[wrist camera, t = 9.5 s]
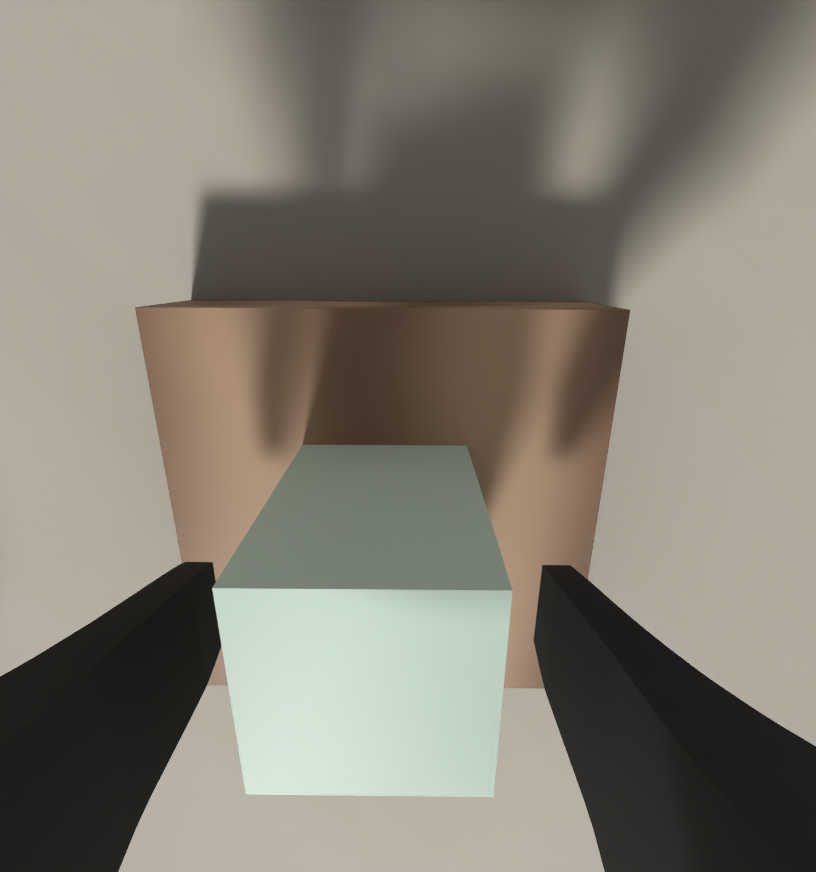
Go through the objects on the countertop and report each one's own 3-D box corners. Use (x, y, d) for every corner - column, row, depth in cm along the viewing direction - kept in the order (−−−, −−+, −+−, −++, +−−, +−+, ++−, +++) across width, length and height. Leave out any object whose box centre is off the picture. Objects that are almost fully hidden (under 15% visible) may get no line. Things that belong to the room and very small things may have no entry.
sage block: (466, 445, 12) (512, 590, 7) (460, 583, 14) (493, 797, 8) (302, 444, 12) (211, 588, 7) (313, 582, 14) (246, 794, 8)
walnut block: (586, 302, 14) (630, 310, 11) (545, 623, 18) (570, 688, 15) (190, 300, 14) (134, 307, 11) (236, 620, 18) (204, 685, 15)
